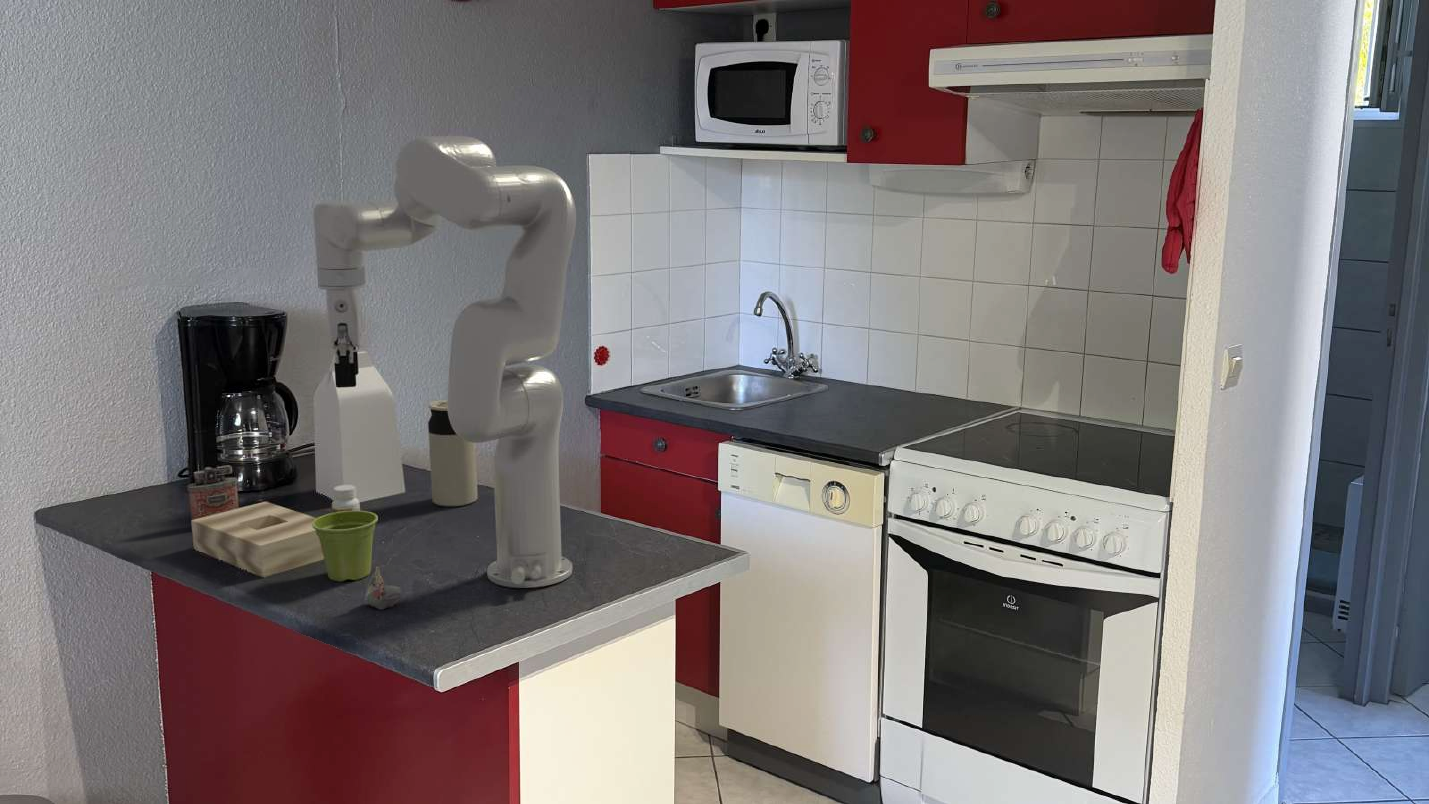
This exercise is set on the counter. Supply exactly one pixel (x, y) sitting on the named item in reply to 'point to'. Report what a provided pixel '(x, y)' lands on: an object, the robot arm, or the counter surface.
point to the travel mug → (450, 461)
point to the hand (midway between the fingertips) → (347, 380)
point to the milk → (357, 435)
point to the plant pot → (346, 543)
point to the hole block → (259, 538)
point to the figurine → (382, 593)
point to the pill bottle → (345, 499)
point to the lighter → (213, 492)
